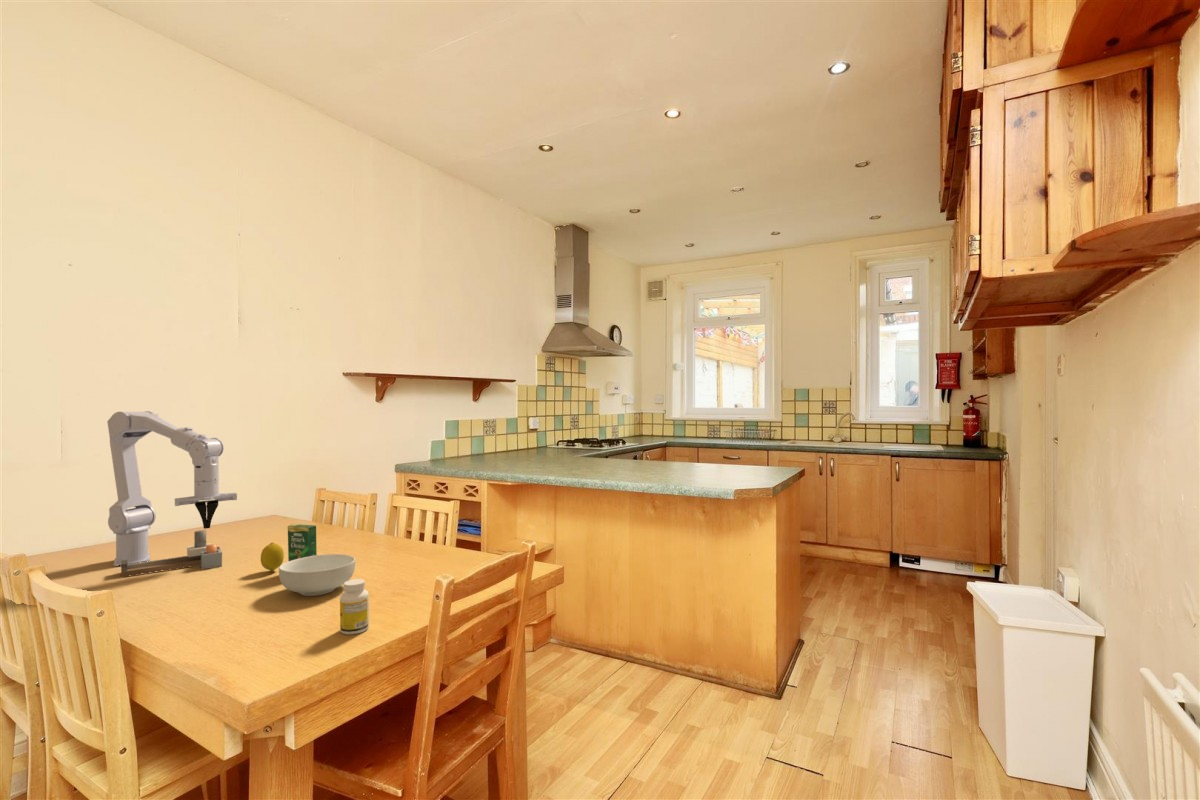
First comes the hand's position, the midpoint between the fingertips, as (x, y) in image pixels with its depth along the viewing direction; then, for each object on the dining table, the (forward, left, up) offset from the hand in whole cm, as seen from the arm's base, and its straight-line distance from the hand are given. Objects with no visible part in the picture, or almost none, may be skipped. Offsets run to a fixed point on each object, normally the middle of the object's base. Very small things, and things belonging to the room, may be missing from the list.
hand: (206, 527), depth 158 cm
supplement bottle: (+76, +19, -11) cm, 79 cm away
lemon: (+20, +13, -11) cm, 26 cm away
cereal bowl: (+45, +19, -11) cm, 50 cm away
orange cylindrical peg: (+3, +1, -8) cm, 9 cm away
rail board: (-3, -8, -11) cm, 13 cm away
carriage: (-3, -1, -8) cm, 8 cm away
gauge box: (+3, +1, -11) cm, 11 cm away
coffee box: (+27, +19, -11) cm, 35 cm away
